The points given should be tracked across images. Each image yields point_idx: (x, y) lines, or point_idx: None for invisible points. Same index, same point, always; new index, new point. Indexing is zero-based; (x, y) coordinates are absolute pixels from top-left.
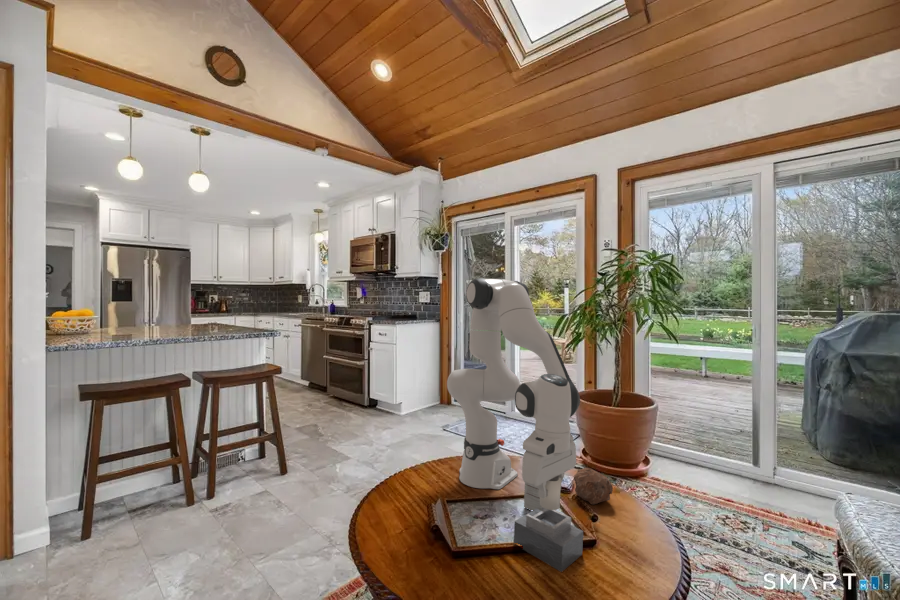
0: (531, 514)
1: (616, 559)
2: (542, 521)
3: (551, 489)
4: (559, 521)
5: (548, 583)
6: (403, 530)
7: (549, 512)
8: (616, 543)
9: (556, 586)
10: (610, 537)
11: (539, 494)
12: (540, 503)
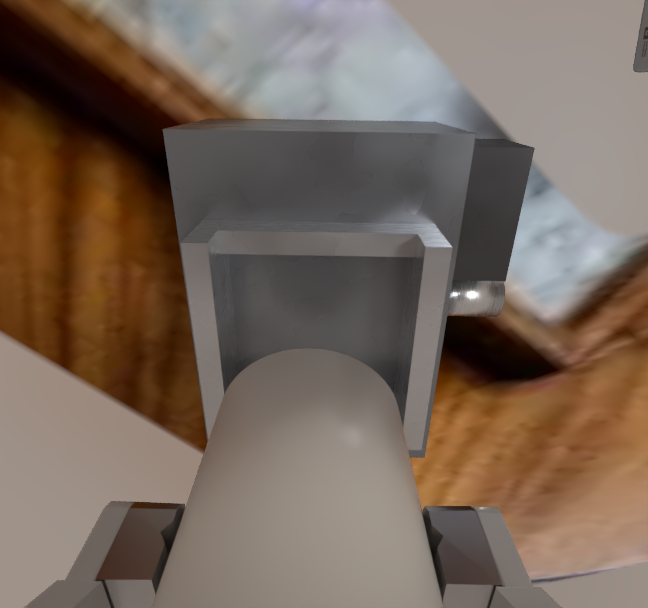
0: (357, 162)
1: (471, 461)
2: (218, 364)
3: None
4: (400, 359)
5: (140, 374)
6: None
7: (413, 301)
8: (586, 430)
9: (154, 398)
10: (621, 401)
11: (104, 523)
12: (228, 392)
